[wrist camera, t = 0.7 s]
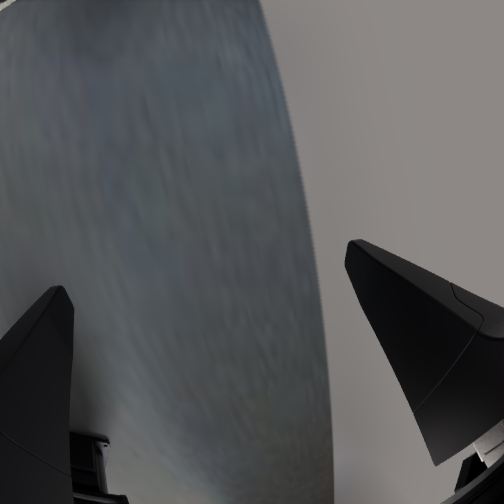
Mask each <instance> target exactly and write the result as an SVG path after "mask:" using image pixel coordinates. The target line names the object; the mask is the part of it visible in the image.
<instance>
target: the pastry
mask: <svg viewBox="0 0 504 504" xmlns="http://www.w3.org/2000/svg"><path fill="white" fill-rule="evenodd" d="M14 1H16V0H0V11H1V10H2V9H4V8H5V7H7V6H9V5H10V4H11V3H13V2H14Z"/></svg>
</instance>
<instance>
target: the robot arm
mask: <svg viewBox="0 0 504 504" xmlns="http://www.w3.org/2000/svg"><path fill="white" fill-rule="evenodd" d="M345 268H346V271H347V273H348V275H349V278H350V281H351V283H352V285H353V288H354V290H355V293H356V295H357V298H358V300H359V303H360V305H361V307H362V309H363V311H364V313H365V315H366V317H367V319H368V321H369V322H370V324H371V326H372V328H373V330H374V332H375V334H376V336H377V338H378V340H379V342H380V344H381V346H382V348H383V350H384V352H385V354H386V356H387V358H388V360H389V362H390V364H391V366H392V368H393V371H394V373H395V375H396V377H397V379H398V381H399V383H400V385H401V388H402V390H403V392H404V394H405V396H406V399H407V401H408V403H409V405H410V407H411V410H412V412H413V413H414V417H415V419H416V421H417V424H418V426H419V429H420V431H421V433H422V436H423V438H424V441H425V443H426V445H427V448H428V450H429V453H430V455H431V458H432V461H433V463H434V465H435V466H438V465H439V464H441V463H443V462H444V461H446V460H447V459H449V458H450V457H452V456H454V455H455V454H457V453H458V452H460V451H461V450H463V449H464V448H466V447H467V446H469V445H470V444H473V446H474V448H475V450H476V451H475V452H474V453H473V454H472V455H470V456H469V457H468V458H466V459H465V460H463V463H462V467H461V471H460V474H459V477H458V481H457V484H456V487H455V490H454V492H455V494H454V495H453V496H451V497H450V498H448V499H447V500H445V501H444V502H442V503H441V504H504V308H503V307H501V306H499V305H497V304H495V303H492V302H490V301H488V300H486V299H484V298H482V297H479V296H477V295H475V294H473V293H471V292H469V291H467V290H465V289H463V288H461V287H459V286H457V285H455V284H453V283H451V282H450V283H449V281H447V280H445V279H444V278H441V277H439V276H438V275H435V274H434V273H432V272H429V271H428V270H426V269H424V268H422V267H419V266H417V265H415V264H413V263H411V262H409V261H407V260H405V259H403V258H401V257H399V256H396V255H395V254H392V253H390V252H388V251H386V250H384V249H382V248H379V247H377V246H375V245H373V244H371V243H369V242H367V241H364V240H362V239H357V240H351V241H349V243H348V246H347V251H346V257H345ZM73 330H74V307H73V304H72V302H71V300H70V298H69V296H68V294H67V292H66V290H65V288H64V287H63V286H61V285H59V286H52V287H50V288H49V289H48V290H47V291H46V292H45V293H44V294H43V295H42V296H41V297H40V298H39V299H38V300H37V301H36V302H35V303H34V304H33V305H32V306H31V307H30V308H29V309H28V310H27V311H26V312H25V313H24V315H23V316H22V317H21V318H20V319H19V320H18V321H17V322H16V323H15V324H14V325H13V326H12V327H11V329H10V330H9V331H8V332H7V333H6V334H5V335H4V336H3V338H2V339H1V340H0V504H129V502H128V499H127V497H126V495H114V494H108V489H107V482H106V474H105V467H106V463H107V458H108V454H109V450H110V442H109V441H107V440H102V439H97V438H92V437H87V436H82V435H78V434H74V433H70V432H69V408H70V386H71V372H72V360H73Z"/></svg>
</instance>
